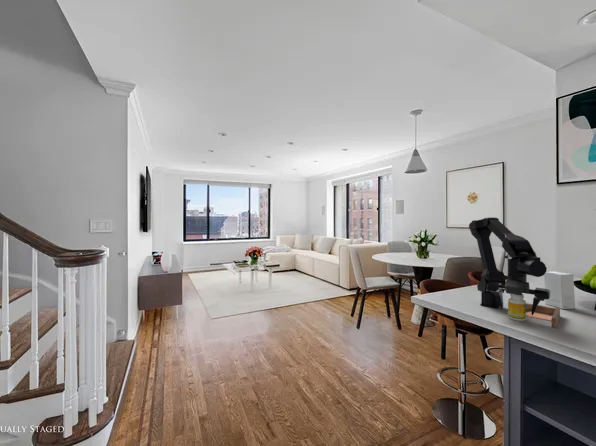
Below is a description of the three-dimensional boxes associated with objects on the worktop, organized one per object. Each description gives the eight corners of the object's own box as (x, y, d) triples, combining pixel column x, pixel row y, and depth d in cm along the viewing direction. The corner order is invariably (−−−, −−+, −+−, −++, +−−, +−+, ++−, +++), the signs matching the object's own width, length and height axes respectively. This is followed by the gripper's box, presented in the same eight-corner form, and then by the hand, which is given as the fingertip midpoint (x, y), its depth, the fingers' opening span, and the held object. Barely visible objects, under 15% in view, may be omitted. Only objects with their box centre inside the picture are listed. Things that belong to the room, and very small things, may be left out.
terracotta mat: (526, 316, 109) (526, 315, 109) (529, 311, 114) (529, 310, 114) (553, 321, 103) (553, 320, 103) (555, 316, 108) (555, 315, 108)
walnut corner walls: (509, 318, 106) (509, 310, 106) (517, 308, 118) (517, 301, 118) (556, 328, 97) (556, 319, 97) (559, 316, 108) (559, 308, 108)
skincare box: (575, 309, 117) (575, 274, 117) (561, 309, 116) (562, 274, 116) (556, 303, 125) (556, 270, 125) (543, 303, 125) (543, 270, 125)
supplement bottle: (507, 315, 110) (507, 291, 110) (525, 318, 107) (525, 293, 107) (508, 319, 105) (508, 294, 105) (526, 322, 102) (526, 296, 102)
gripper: (482, 271, 107) (482, 311, 107) (547, 278, 94) (547, 324, 94) (490, 267, 115) (489, 305, 115) (550, 273, 101) (550, 316, 101)
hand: (516, 312), depth 106 cm, fingers open, 9 cm apart
